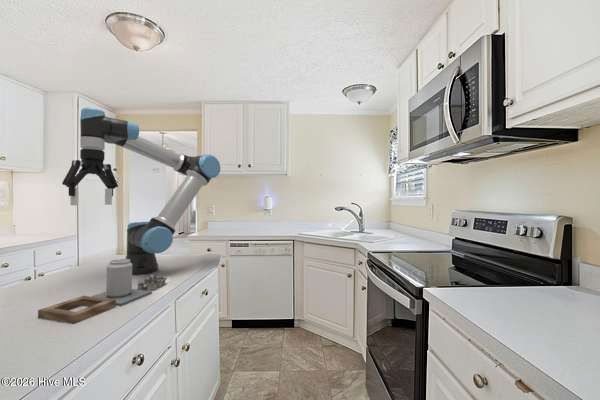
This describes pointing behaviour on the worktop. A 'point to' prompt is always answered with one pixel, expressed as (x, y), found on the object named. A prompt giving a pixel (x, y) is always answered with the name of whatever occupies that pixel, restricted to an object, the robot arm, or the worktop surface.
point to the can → (119, 278)
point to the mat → (126, 299)
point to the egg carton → (151, 283)
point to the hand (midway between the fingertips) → (92, 205)
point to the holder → (62, 313)
